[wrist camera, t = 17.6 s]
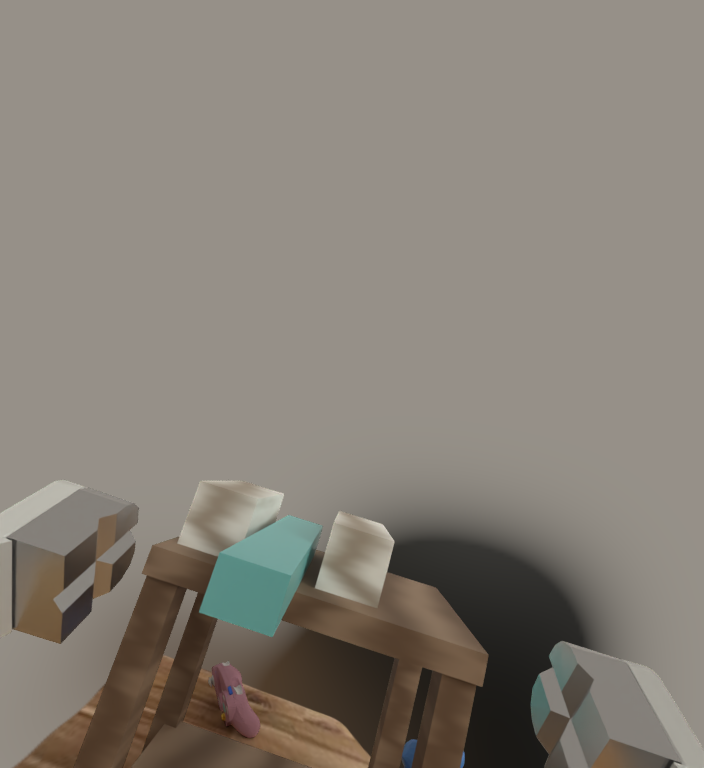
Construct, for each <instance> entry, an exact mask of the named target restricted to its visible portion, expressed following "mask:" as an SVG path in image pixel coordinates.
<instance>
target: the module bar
mask: <svg viewBox="0 0 704 768" xmlns="http://www.w3.org/2000/svg"><path fill="white" fill-rule="evenodd" d="M322 528H323V526H322V525H319V524H315V523H312V522H309V521H306V520H303V519H299V518H297V517H293V516H290V515H288V516H286V517H284V518H282V519H280V520H279V521H277V522H275V523H273V524H271V525H269V526H268V527H266V528H264V529H262V530H260V531H258V532H256V533H255V534H253V535H251V536H249V537H247V538H245V539H243V540H242V541H240V542H238V543H236V544H234V545H232V546H231V547H229V548H227V549H225V550H223V551H221V552H220V553H219V556H218V559H217V561H216V564H215V567H214V570H213V573H212V576H211V579H210V582H209V584H208V587H207V590H206V593H205V596H204V599H203V602H202V605H201V607H200V610H199V613H202V614H205V615H208V616H211V617H214V618H217V619H220V620H223V621H226V622H229V623H232V624H235V625H238V626H241V627H244V628H247V629H250V630H253V631H256V632H259V633H262V634H265V635H268V636H271V637H273V635H274V633H275V631H276V629H277V627H278V625H279V623H280V621H281V619H282V617H283V615H284V614H285V612H286V610H287V608H288V606H289V604H290V602H291V600H292V598H293V596H294V594H295V592H296V590H297V588H298V586H299V584H300V582H301V580H302V578H303V576H304V574H305V572H306V570H307V568H308V567H309V565H310V563H311V561H312V559H313V557H314V555H315V552H316V549H317V545H318V542H319V539H320V535H321V532H322Z"/></svg>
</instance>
